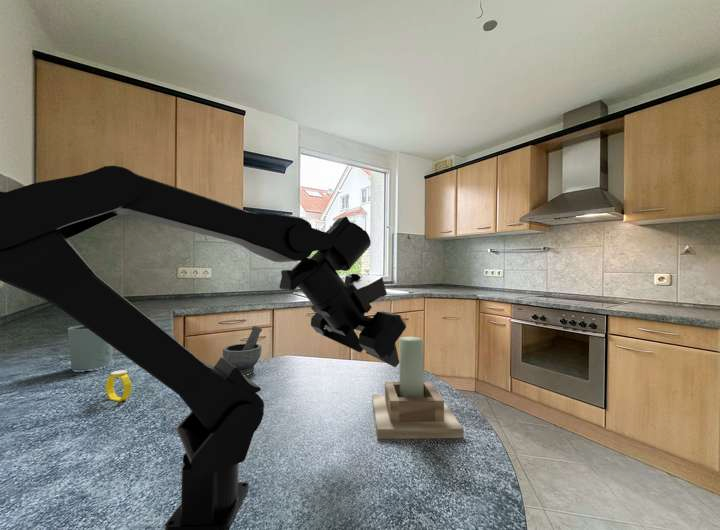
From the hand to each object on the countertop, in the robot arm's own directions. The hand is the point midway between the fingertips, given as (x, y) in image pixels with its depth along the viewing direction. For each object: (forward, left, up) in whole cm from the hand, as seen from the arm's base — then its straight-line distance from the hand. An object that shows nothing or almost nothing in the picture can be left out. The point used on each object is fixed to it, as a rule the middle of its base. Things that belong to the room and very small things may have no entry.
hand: (378, 357), depth 51 cm
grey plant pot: (+36, +79, -13) cm, 88 cm away
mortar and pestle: (+32, +34, -13) cm, 48 cm away
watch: (+14, +54, -13) cm, 57 cm away
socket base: (+5, -7, -12) cm, 15 cm away
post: (+5, -7, -11) cm, 14 cm away
